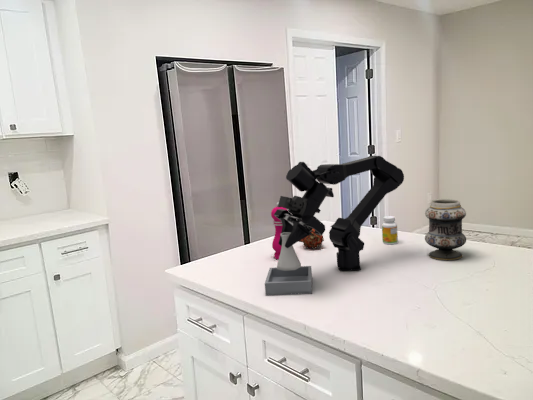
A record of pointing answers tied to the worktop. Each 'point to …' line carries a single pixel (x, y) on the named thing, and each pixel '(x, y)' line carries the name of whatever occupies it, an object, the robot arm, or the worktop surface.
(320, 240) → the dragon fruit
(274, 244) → the pepper mill
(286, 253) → the flask
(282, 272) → the box
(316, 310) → the worktop surface
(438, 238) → the apothecary jar
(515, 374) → the worktop surface
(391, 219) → the supplement bottle
